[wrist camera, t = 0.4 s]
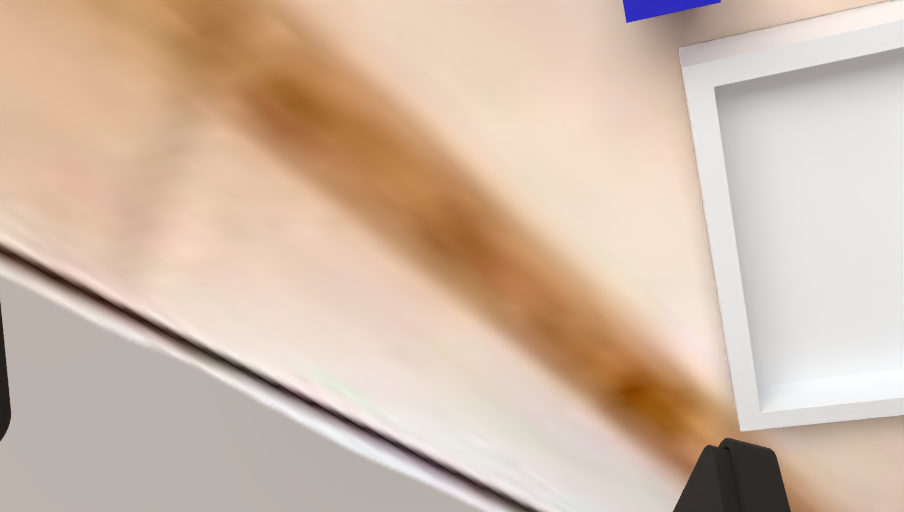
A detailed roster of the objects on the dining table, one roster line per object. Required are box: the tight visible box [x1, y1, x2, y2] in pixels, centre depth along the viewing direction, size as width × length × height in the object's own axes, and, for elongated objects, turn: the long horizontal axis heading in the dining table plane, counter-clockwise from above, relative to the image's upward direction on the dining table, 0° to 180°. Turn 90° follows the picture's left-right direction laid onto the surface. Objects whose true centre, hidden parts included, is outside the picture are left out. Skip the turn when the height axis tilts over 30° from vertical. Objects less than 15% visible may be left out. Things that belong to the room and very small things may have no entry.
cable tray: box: [678, 0, 904, 431], centre depth 35 cm, size 10×18×2 cm, turn 16°
